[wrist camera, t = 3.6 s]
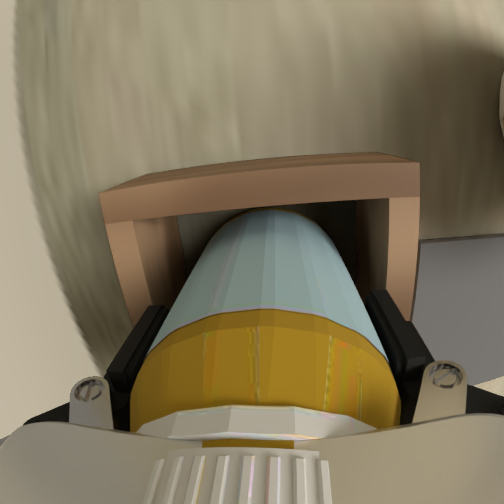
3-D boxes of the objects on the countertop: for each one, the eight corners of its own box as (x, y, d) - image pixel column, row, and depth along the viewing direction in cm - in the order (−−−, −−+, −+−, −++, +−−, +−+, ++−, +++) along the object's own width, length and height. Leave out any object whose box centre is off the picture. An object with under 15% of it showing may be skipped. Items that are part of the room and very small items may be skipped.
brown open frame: (147, 174, 15) (98, 192, 11) (377, 152, 14) (419, 162, 10) (187, 358, 19) (167, 416, 15) (371, 347, 18) (392, 405, 14)
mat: (417, 240, 16) (420, 243, 15) (553, 229, 14) (557, 231, 14) (393, 399, 20) (394, 404, 19) (515, 367, 19) (517, 370, 18)
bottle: (355, 296, 17) (449, 576, 3) (243, 342, 19) (203, 607, 5) (303, 180, 15) (468, 529, 1) (180, 241, 17) (-6, 514, 3)
